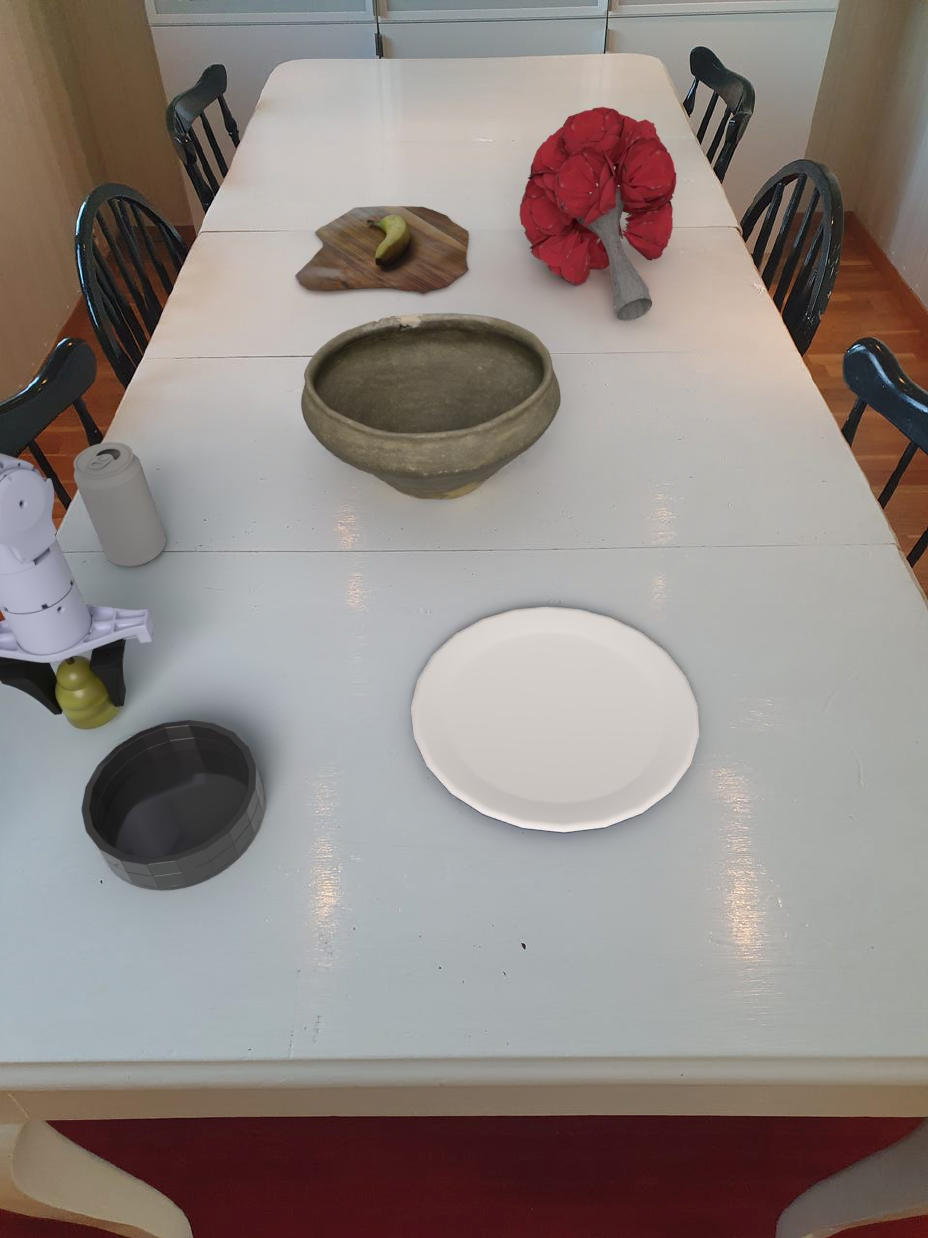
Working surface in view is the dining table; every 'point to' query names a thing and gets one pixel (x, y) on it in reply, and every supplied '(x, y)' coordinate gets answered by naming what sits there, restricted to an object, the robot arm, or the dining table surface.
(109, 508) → the beverage can
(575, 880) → the dining table surface
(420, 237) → the cutting board
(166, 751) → the pan
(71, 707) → the pear
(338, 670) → the dining table surface
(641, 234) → the bouquet
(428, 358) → the bowl
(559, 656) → the plate
